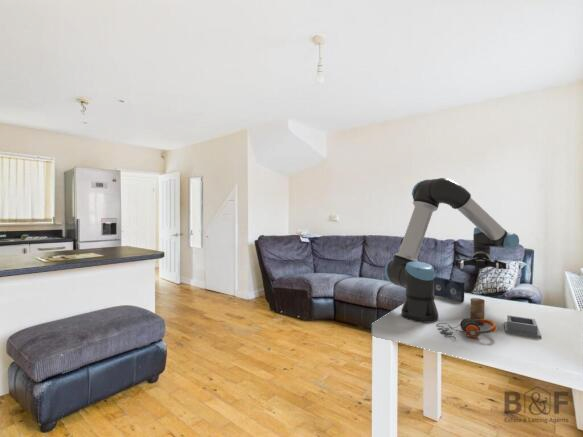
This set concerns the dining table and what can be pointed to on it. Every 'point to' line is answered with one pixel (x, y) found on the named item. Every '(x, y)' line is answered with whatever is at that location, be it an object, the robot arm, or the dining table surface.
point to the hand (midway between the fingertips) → (478, 267)
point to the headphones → (470, 327)
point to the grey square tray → (522, 326)
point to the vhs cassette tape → (449, 289)
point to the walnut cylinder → (477, 310)
